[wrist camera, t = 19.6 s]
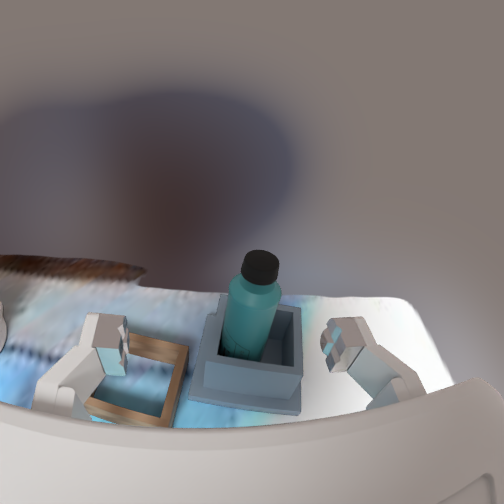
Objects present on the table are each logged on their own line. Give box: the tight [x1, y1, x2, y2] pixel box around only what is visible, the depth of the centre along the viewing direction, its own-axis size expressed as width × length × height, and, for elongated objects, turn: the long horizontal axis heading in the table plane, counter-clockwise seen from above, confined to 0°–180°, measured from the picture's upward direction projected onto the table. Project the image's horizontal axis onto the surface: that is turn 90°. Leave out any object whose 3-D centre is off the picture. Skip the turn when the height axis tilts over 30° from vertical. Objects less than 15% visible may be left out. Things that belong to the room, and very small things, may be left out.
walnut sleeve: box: [83, 332, 189, 428], centre depth 39 cm, size 13×13×4 cm
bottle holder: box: [188, 294, 303, 416], centre depth 44 cm, size 16×16×8 cm
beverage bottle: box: [219, 250, 281, 362], centre depth 40 cm, size 6×7×20 cm
